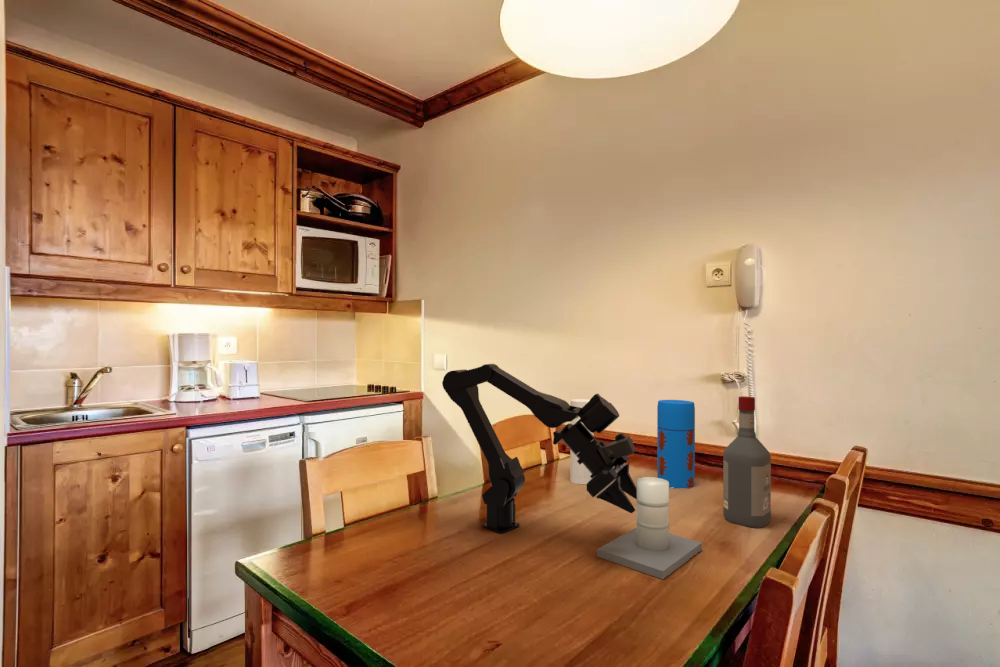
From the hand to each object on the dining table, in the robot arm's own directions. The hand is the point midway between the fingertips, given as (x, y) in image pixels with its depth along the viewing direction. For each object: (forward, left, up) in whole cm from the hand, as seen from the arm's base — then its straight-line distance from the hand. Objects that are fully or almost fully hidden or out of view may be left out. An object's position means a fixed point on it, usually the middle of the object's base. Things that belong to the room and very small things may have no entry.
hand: (636, 504), depth 105 cm
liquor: (+34, -11, -9) cm, 37 cm away
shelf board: (0, -3, -9) cm, 10 cm away
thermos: (+52, +15, -9) cm, 55 cm away
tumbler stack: (+1, -3, -8) cm, 8 cm away
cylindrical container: (+34, +37, -9) cm, 51 cm away
